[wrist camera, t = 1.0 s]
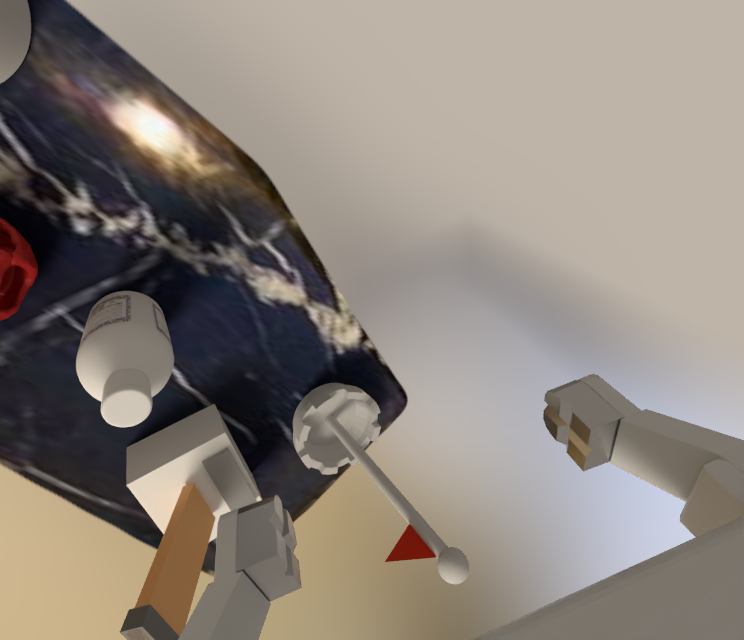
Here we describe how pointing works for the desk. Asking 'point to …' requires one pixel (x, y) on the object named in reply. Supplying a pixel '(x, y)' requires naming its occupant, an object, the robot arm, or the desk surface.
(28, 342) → the desk surface
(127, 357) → the bath foam
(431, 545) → the flag stand
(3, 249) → the pomegranate
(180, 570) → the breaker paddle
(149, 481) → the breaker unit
